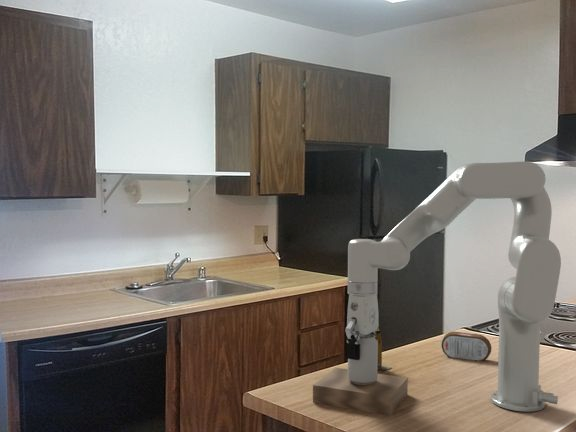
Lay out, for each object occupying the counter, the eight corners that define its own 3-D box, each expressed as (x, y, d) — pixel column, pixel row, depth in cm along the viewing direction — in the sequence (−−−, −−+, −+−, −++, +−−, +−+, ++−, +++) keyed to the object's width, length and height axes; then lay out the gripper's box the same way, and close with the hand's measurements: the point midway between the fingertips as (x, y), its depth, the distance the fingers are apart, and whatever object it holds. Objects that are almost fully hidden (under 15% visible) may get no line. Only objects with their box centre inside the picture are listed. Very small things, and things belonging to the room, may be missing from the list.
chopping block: (407, 396, 156) (407, 377, 156) (390, 418, 142) (390, 397, 142) (335, 385, 165) (335, 367, 165) (312, 404, 151) (312, 385, 150)
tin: (491, 361, 187) (491, 334, 186) (490, 364, 184) (490, 337, 183) (442, 355, 193) (442, 329, 193) (440, 358, 190) (440, 331, 190)
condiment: (354, 369, 178) (355, 329, 178) (372, 363, 184) (373, 324, 183) (374, 374, 173) (374, 333, 172) (392, 368, 179) (392, 328, 178)
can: (357, 375, 158) (358, 329, 158) (382, 380, 154) (383, 334, 153) (341, 381, 153) (342, 334, 152) (367, 388, 148) (367, 339, 147)
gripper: (362, 294, 143) (361, 365, 144) (388, 284, 158) (388, 348, 158) (333, 291, 147) (333, 360, 147) (362, 282, 161) (361, 344, 162)
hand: (361, 354), depth 153 cm, fingers open, 9 cm apart
